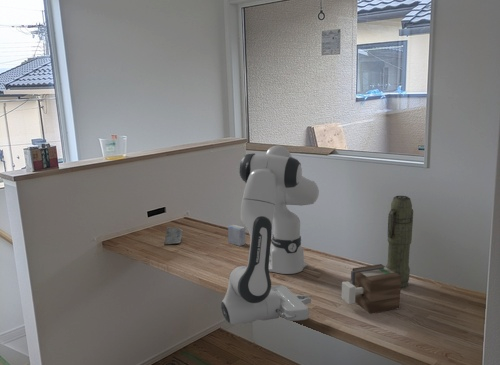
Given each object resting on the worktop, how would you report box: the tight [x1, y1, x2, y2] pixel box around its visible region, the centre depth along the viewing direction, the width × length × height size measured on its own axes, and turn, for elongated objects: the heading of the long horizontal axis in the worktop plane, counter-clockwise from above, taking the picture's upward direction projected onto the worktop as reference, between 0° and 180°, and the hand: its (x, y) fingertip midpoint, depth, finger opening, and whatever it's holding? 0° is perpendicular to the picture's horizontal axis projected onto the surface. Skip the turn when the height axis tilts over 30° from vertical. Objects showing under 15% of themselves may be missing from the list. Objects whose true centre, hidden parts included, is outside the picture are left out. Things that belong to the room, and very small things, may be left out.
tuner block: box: [352, 263, 402, 315], centre depth 170 cm, size 12×12×12 cm
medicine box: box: [227, 224, 247, 247], centre depth 236 cm, size 8×4×9 cm, turn 49°
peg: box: [341, 267, 384, 305], centre depth 169 cm, size 5×16×10 cm, turn 109°
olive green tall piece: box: [385, 195, 414, 290], centre depth 185 cm, size 9×12×35 cm
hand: (309, 298), depth 162 cm, fingers closed
